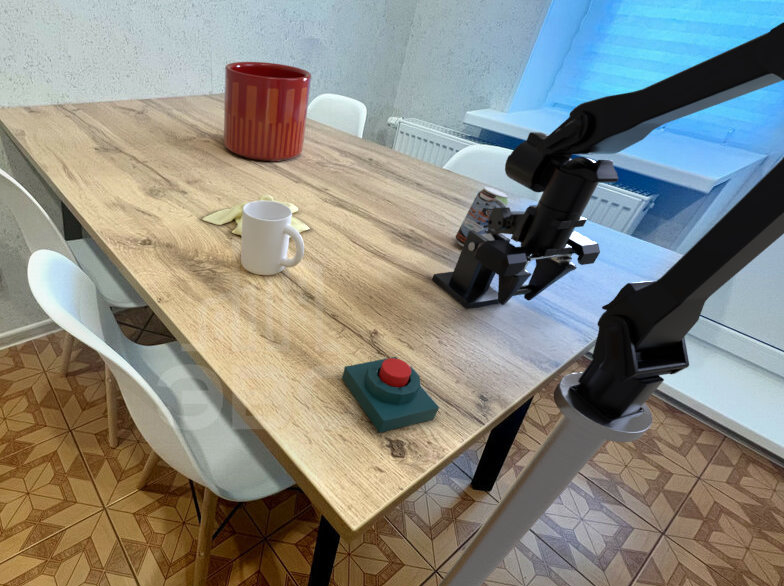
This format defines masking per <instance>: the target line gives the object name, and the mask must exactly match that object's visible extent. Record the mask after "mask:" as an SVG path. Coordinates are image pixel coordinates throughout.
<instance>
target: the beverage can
mask: <svg viewBox="0 0 784 586" xmlns="http://www.w3.org/2000/svg"><path fill="white" fill-rule="evenodd" d="M508 198H509V195H508V193H506V192H504V191H503V190H500V189H498V188H495V187H492V186H484V187H483V189H481V190H479V191H478V192H477V193H476V196H475V198H474V200H473V201H472V204H470V207H469V209H468V211H467V213H466V215H465V217H464V218H463V221H462V223H461V225H460V227H459V229H458V231H457V233H456V234H455V240H456V243H457V244H458V245H460V246H461V247H463V246H464V243H465V240H466V238H467V235H468V233H469V231H470V230H474V231H476V232H477V233H479V234H486V233H487V231H488V229H489V228H488V219H489V216H490V214H491V212H492V210H493V208H497V207H503V208H506V207H507V206H508V204H509V201H508V200H509V199H508Z"/></svg>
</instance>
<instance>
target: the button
mask: <svg viewBox="0 0 784 586" xmlns="http://www.w3.org/2000/svg"><path fill="white" fill-rule="evenodd" d="M389 358H390V359H387V358H385V359H386V360H385V361H384V362H383V363H382V366H381V369H380V373H379V378H380V380H381V381H382V382H383V383H385V384H387V385H389V386H392V387H398V388H400V387H403V386H405V385H406V384H407V382H408V380H409V377H410V374H411V368H410V366H411V365H409V364H408V363H407V362H406V361H404V360H402V359H400V358H397V359H395V358H392V357H389Z"/></svg>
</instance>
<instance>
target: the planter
mask: <svg viewBox="0 0 784 586" xmlns="http://www.w3.org/2000/svg"><path fill="white" fill-rule="evenodd" d="M311 82H312V73H310V72H309V71H308V70H306V69H303V68H300V67H296V66H291V65H288V64H281V63H275V62H274V63H273V62H265V61H264V62H263V61H237V62H236V61H235V62H229V63H228V64H226V65H225V67H224V104H223V105H224V106H223V109H224V110H223V112H224V113H223V143H224V146H225V148H226V149H227V150H228V151H230V152H231V153H233V154H235V155H236V156H239V157H242V158H244V159H249V160H253V161H261V162H283V161H288V160H292V159H294V158H297V157H299V156H300V155H301V154H302V152H303V150H304V142H305V135H306V126H307V119H308V110H309V100H310V94H311V93H310V92H311V85H312V84H311Z"/></svg>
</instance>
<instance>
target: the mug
mask: <svg viewBox="0 0 784 586" xmlns="http://www.w3.org/2000/svg"><path fill="white" fill-rule="evenodd" d="M246 203H247V204H246V205H244V207H243V217H242V236H241V239H240V240H241V241H240V242H241V243H240V263H241V266H242V267H243V268H244V269H245V270H246V271H248V272H250V273H251V274H253V275H259V276H274V275H277V274H279V273H281V272H282V271H283V270H284V269H285V268H293V267H294V268H295V267H296V266H298V265H299V264H300V263H301V261H302V260H303V258H304V254H305V244H304V239H303V237H302V235H301V233H299V232H298V231H297V230H296V229H295V228H293V227H292V226H291V218H292V217H293V213H292V211H291V209H290V208H289V207H287V206H286V205H284V204H281V203H278V202H274V201H264V200H263V201H258V200H254V201H250V202H246ZM289 236H290V237H291V239H292V240H293V241H294V244H295V248H296V249H295V250H296V251H295V255H294V256H293V258H291V259H290V258H288V251H289V242H290V238H289Z"/></svg>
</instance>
